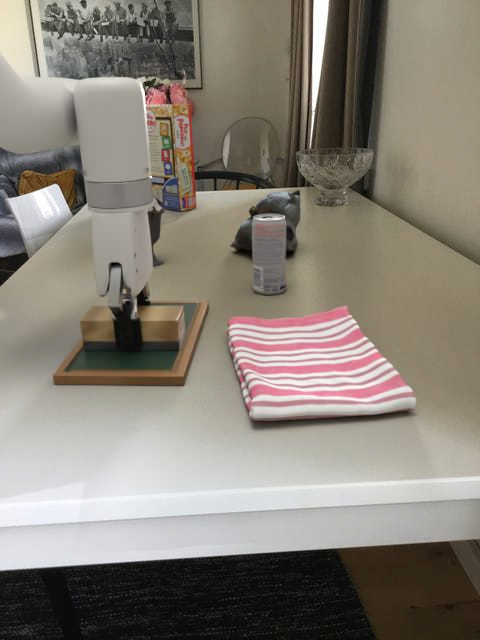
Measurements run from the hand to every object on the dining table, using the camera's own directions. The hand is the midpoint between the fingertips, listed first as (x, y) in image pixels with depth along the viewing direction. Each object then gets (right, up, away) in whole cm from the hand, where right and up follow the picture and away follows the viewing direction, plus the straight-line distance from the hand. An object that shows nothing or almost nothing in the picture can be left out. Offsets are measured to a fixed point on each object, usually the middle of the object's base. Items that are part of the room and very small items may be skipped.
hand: (135, 337), depth 72 cm
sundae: (-4, +13, +37) cm, 40 cm away
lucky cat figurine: (+19, +16, +43) cm, 50 cm away
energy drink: (+18, +7, +21) cm, 28 cm away
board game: (-8, +34, +88) cm, 95 cm away
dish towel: (+21, -4, -5) cm, 22 cm away
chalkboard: (0, -1, +4) cm, 4 cm away
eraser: (0, -1, 0) cm, 1 cm away
